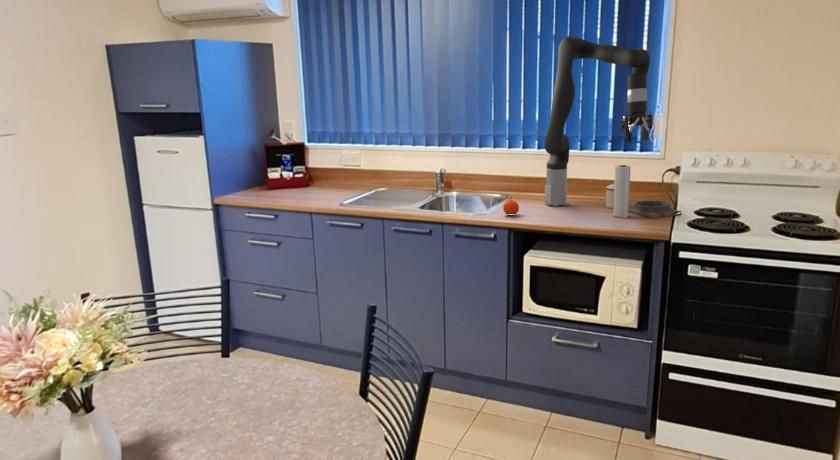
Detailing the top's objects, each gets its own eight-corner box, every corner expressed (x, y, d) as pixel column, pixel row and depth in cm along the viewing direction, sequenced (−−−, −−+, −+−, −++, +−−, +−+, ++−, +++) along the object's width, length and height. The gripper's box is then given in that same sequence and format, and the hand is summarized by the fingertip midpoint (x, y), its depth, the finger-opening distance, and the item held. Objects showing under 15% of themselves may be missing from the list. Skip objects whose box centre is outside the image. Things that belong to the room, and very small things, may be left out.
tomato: (501, 213, 262) (500, 198, 261) (516, 212, 263) (516, 197, 261) (505, 217, 255) (505, 201, 253) (520, 216, 255) (520, 200, 254)
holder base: (647, 218, 240) (648, 209, 240) (623, 210, 256) (623, 201, 256) (681, 214, 244) (681, 205, 243) (655, 207, 260) (655, 198, 259)
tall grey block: (614, 214, 251) (616, 164, 246) (629, 214, 248) (631, 164, 243) (611, 217, 245) (613, 166, 240) (626, 218, 242) (628, 167, 237)
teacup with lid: (626, 208, 260) (627, 183, 257) (605, 208, 263) (606, 183, 260) (626, 203, 271) (626, 178, 269) (605, 203, 274) (606, 178, 271)
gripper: (643, 100, 242) (643, 139, 245) (616, 101, 236) (616, 142, 239) (657, 99, 235) (657, 139, 238) (630, 100, 230) (630, 142, 233)
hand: (637, 141), depth 239 cm, fingers open, 8 cm apart
